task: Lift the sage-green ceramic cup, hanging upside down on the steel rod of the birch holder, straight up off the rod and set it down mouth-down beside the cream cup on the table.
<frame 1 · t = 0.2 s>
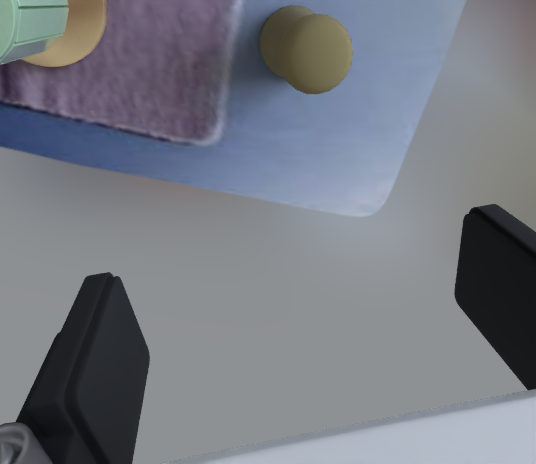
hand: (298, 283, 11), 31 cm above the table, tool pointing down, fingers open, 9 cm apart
cork: (292, 43, 37), on the table
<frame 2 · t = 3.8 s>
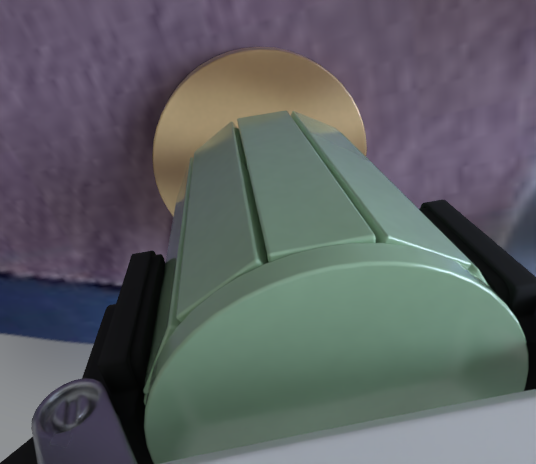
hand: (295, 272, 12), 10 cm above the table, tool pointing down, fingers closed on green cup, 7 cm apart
holder: (260, 157, 20), on the table
green cup: (274, 207, 15), point 6 cm above the table, touching gripper, holder
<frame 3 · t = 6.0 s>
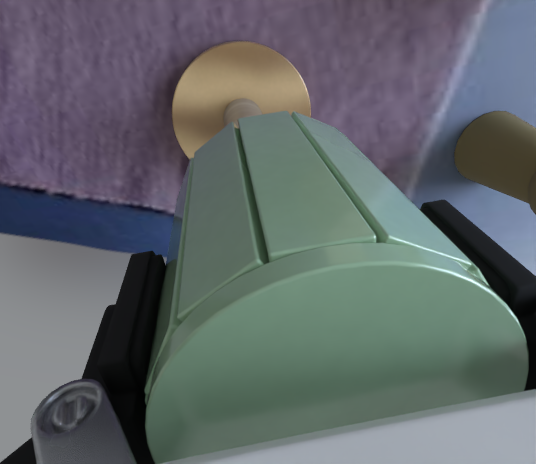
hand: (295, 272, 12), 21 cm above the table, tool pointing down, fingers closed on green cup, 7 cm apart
cork: (487, 146, 34), on the table
holder: (241, 114, 30), on the table
green cup: (275, 207, 15), point 17 cm above the table, touching gripper
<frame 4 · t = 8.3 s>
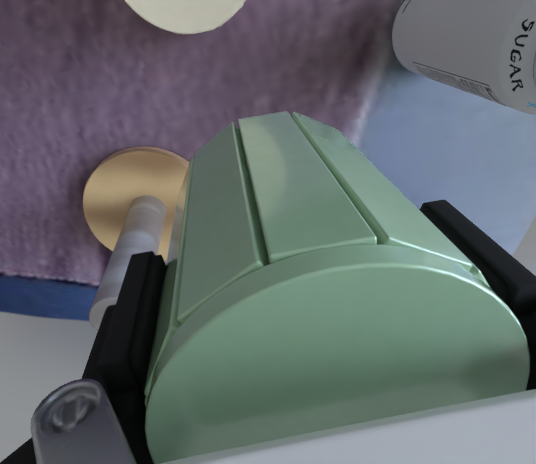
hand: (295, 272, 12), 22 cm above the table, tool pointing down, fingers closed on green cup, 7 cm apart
holder: (150, 204, 34), on the table
energy drink can: (425, 28, 30), on the table
green cup: (275, 208, 15), point 18 cm above the table, touching gripper
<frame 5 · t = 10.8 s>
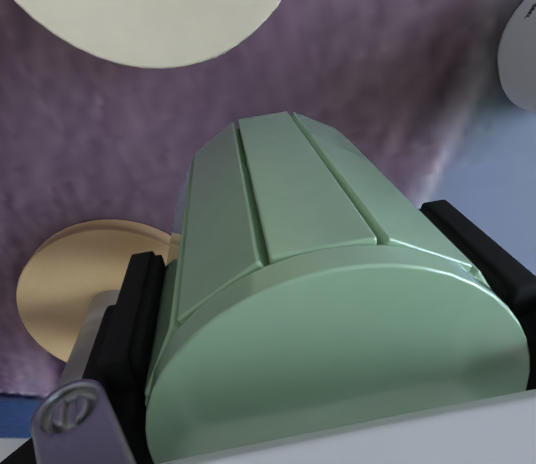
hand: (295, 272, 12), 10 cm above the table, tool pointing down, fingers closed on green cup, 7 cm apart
holder: (121, 296, 23), on the table
green cup: (275, 208, 15), point 6 cm above the table, touching gripper
when the fingers open (4 cm above the table, at t = 12.7 s): green cup stays where it is, on the table.
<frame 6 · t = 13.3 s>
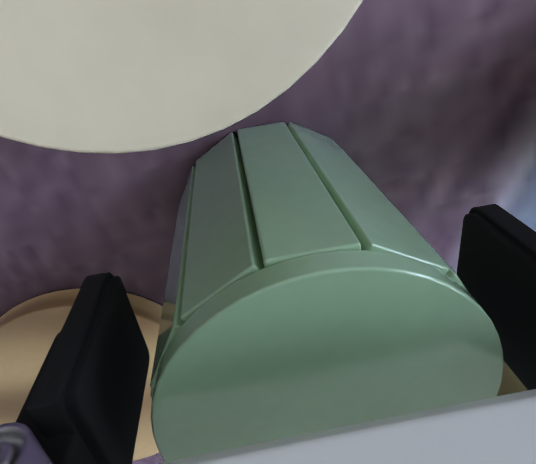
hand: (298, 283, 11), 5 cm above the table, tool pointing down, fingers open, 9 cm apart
cork: (495, 378, 23), on the table
holder: (100, 374, 19), on the table
green cup: (273, 213, 16), on the table
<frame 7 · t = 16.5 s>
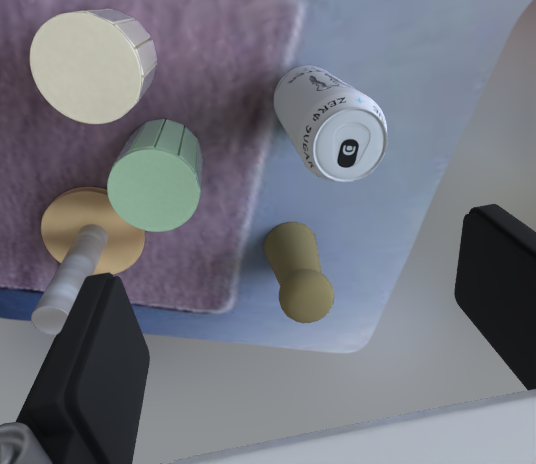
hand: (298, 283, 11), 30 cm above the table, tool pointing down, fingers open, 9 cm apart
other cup: (114, 56, 35), on the table
cork: (289, 244, 47), on the table
holder: (96, 230, 43), on the table
energy drink can: (303, 97, 39), on the table
green cup: (165, 155, 40), on the table
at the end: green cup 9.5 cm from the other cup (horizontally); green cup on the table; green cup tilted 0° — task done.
